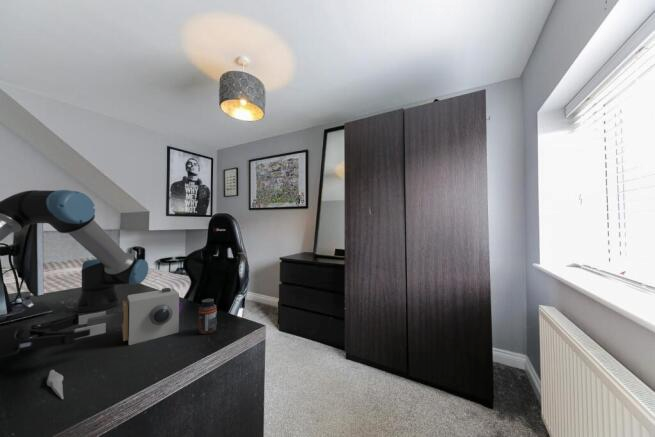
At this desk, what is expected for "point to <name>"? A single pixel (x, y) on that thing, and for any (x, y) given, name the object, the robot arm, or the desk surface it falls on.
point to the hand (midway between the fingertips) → (106, 321)
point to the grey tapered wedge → (56, 383)
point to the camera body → (152, 315)
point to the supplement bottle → (207, 317)
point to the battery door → (113, 320)
